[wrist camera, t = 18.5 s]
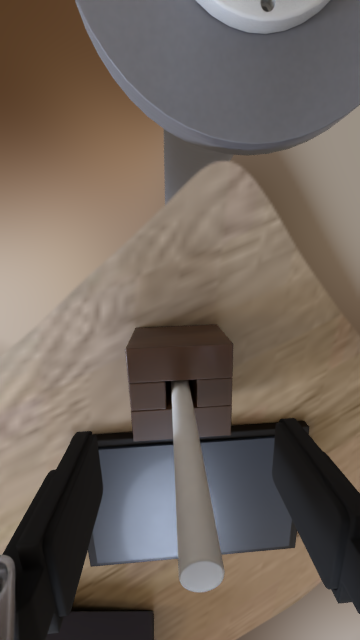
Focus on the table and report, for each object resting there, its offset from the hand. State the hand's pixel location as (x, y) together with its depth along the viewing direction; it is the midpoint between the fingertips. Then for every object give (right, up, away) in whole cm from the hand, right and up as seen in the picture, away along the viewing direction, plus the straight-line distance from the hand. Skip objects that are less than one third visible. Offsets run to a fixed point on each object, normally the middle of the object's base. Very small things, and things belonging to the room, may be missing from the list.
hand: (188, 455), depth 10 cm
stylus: (0, +2, +9) cm, 9 cm away
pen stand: (0, +2, +9) cm, 9 cm away
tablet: (+1, -10, +12) cm, 16 cm away
